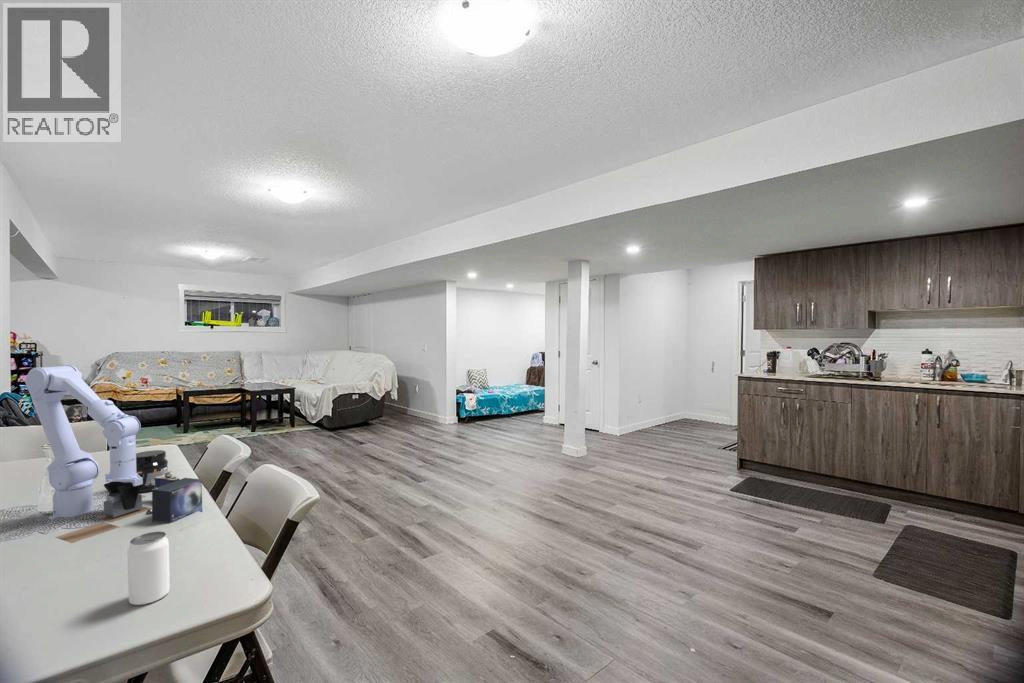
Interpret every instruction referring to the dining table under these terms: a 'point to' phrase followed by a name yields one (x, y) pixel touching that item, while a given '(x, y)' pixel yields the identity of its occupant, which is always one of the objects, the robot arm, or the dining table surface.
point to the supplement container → (150, 467)
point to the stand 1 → (87, 532)
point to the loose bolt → (149, 512)
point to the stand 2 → (123, 515)
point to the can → (148, 568)
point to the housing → (119, 505)
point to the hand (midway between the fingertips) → (124, 507)
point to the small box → (176, 500)
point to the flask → (164, 479)
